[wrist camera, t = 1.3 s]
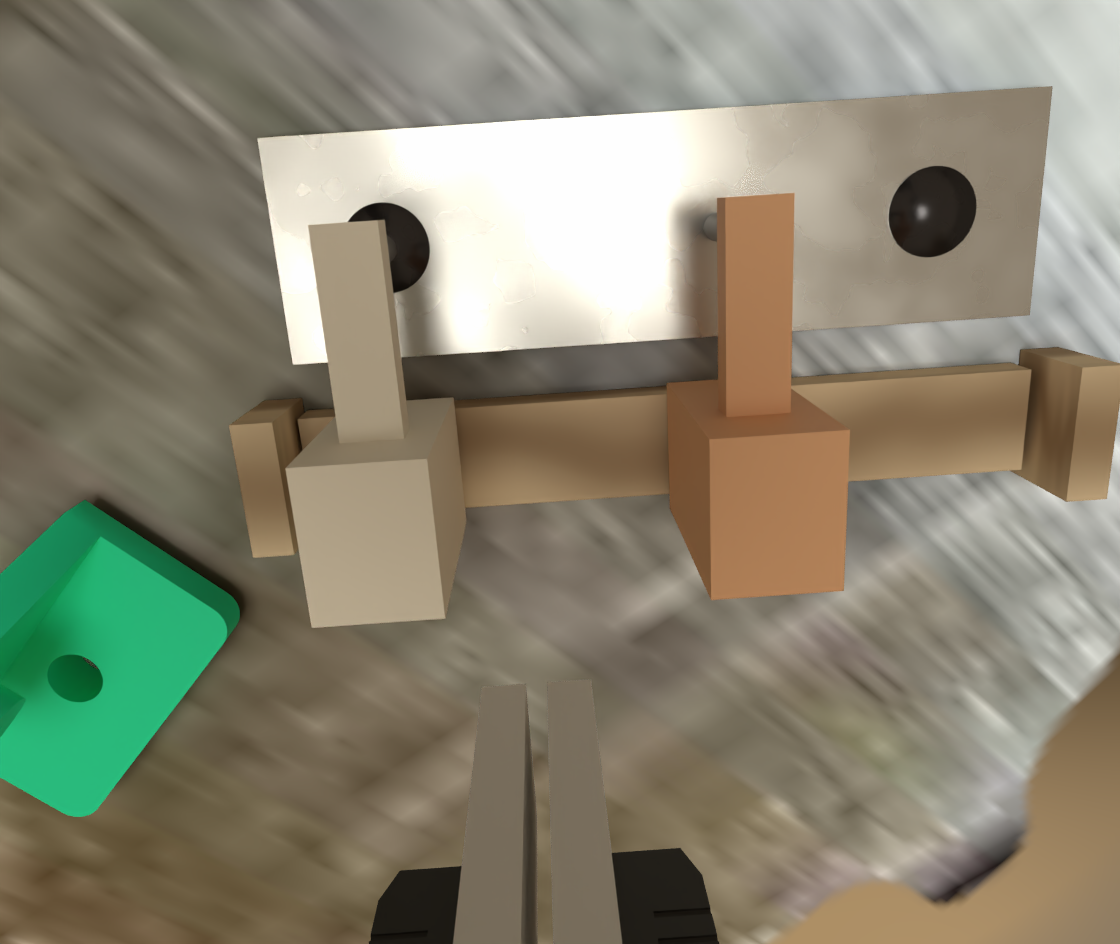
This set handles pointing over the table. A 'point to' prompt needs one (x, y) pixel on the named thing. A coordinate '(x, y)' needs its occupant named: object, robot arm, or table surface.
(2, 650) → the camera mount
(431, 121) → the table surface
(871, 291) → the hole plate
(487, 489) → the rail
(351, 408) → the fixed leg
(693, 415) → the slider leg
